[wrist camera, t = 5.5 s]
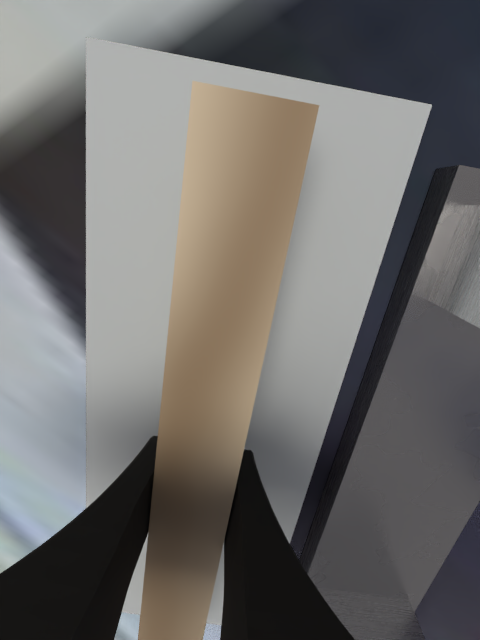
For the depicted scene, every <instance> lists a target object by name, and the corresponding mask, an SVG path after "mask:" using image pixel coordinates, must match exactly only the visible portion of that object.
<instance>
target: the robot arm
mask: <svg viewBox="0 0 480 640" xmlns="http://www.w3.org/2000/svg"><path fill="white" fill-rule="evenodd" d="M157 439H158V436H152V437H151V438H150V439H149V440H148V442H147V443H146V444H145V446H144V447H143V448H142V450H141V451H140V452H139V454H138V455H137V456H136V457H135V458H134V460H133V461H132V462H131V463H130V464H129V465H128V466H127V468H126V469H125V470H124V471H123V472H122V473H121V474H120V475H119V477H118V478H117V479H116V480H115V481H114V482H113V483H112V484H111V485H110V486H109V487H108V488H107V489H106V490H105V491H104V492H103V493H102V494H101V495H100V496H99V497H98V498H97V499H96V500H95V501H94V502H93V503H91V504H90V505H89V506H88V507H87V508H86V509H85V510H84V511H83V512H82V513H80V514H79V515H78V516H77V517H76V518H75V519H73V520H72V521H71V522H70V523H69V524H67V525H66V526H65V527H64V528H62V529H61V530H60V531H59V532H57V533H56V534H55V535H54V536H52V537H51V538H50V539H49V540H47V541H46V542H45V543H43V544H42V545H41V546H39V547H38V548H36V549H35V550H34V551H32V552H31V553H29V554H28V555H27V556H25V557H24V558H22V559H21V560H19V561H18V562H17V563H15V564H14V565H12V566H11V567H9V568H8V569H7V570H5V571H3V572H2V573H0V640H114V637H115V634H116V630H117V627H118V623H119V619H120V616H121V612H122V609H123V605H124V602H125V598H126V595H127V591H128V588H129V585H130V582H131V579H132V576H133V573H134V570H135V567H136V564H137V562H138V559H139V556H140V554H141V551H142V548H143V545H144V543H145V540H146V537H147V535H148V531H149V521H150V511H151V500H152V490H153V480H154V470H155V459H156V449H157ZM220 640H355V639H354V638H353V637H352V635H351V634H350V633H349V632H348V630H347V629H346V628H345V626H344V625H343V624H342V623H341V621H340V620H339V619H338V617H337V616H336V615H335V613H334V612H333V610H332V609H331V608H330V606H329V605H328V604H327V602H326V601H325V600H324V598H323V597H322V595H321V593H320V592H319V590H318V589H317V587H316V586H315V584H314V583H313V581H312V580H311V578H310V577H309V575H308V574H307V572H306V571H305V569H304V568H303V566H302V564H301V563H300V561H299V559H298V558H297V556H296V554H295V553H294V551H293V549H292V547H291V545H290V544H289V542H288V540H287V538H286V536H285V534H284V532H283V530H282V528H281V526H280V524H279V522H278V520H277V518H276V516H275V513H274V511H273V509H272V507H271V504H270V502H269V499H268V497H267V494H266V492H265V489H264V487H263V484H262V481H261V479H260V476H259V473H258V469H257V466H256V463H255V459H254V455H253V452H252V451H251V450H246V449H244V452H243V457H242V461H241V466H240V470H239V475H238V479H237V484H236V489H235V493H234V498H233V502H232V507H231V511H230V516H229V521H228V525H227V530H226V534H225V539H224V598H223V612H222V625H221V638H220Z"/></svg>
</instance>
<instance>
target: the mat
mask: <svg viewBox="0 0 480 640" xmlns="http://www.w3.org/2000/svg"><path fill="white" fill-rule="evenodd" d="M192 81H197V82H202V83H207V84H212V85H218V86H223V87H228V88H233V89H238V90H243V91H248V92H254V93H259V94H264V95H269V96H274V97H279V98H285V99H290V100H295V101H300V102H305V103H310V104H315V105H319V109H318V114H317V118H316V123H315V128H314V132H313V137H312V141H311V146H310V150H309V155H308V159H307V164H306V169H305V173H304V178H303V182H302V187H301V191H300V196H299V201H298V205H297V210H296V214H295V219H294V223H293V228H292V233H291V237H290V242H289V246H288V251H287V255H286V260H285V265H284V269H283V274H282V278H281V283H280V287H279V292H278V297H277V301H276V306H275V310H274V315H273V319H272V324H271V329H270V333H269V338H268V342H267V347H266V351H265V356H264V361H263V365H262V370H261V374H260V379H259V383H258V388H257V393H256V397H255V402H254V406H253V411H252V415H251V420H250V425H249V429H248V434H247V438H246V443H245V447H244V449H246V450H251V451H252V452H253V455H254V459H255V463H256V466H257V469H258V473H259V476H260V479H261V481H262V484H263V487H264V489H265V492H266V494H267V497H268V499H269V502H270V504H271V507H272V509H273V511H274V513H275V516H276V518H277V520H278V522H279V524H280V526H281V528H282V530H283V532H284V534H285V536H286V538H287V540H288V542H289V544H290V541H291V538H292V535H293V532H294V529H295V526H296V523H297V520H298V517H299V514H300V511H301V508H302V504H303V501H304V498H305V495H306V492H307V489H308V486H309V483H310V480H311V477H312V474H313V471H314V467H315V464H316V461H317V458H318V455H319V452H320V449H321V446H322V443H323V440H324V437H325V434H326V431H327V427H328V424H329V421H330V418H331V415H332V412H333V409H334V406H335V403H336V400H337V397H338V394H339V390H340V387H341V384H342V381H343V378H344V375H345V372H346V369H347V366H348V363H349V360H350V357H351V353H352V350H353V347H354V344H355V341H356V338H357V335H358V332H359V329H360V326H361V323H362V320H363V316H364V313H365V310H366V307H367V304H368V301H369V298H370V295H371V292H372V289H373V286H374V283H375V279H376V276H377V273H378V270H379V267H380V264H381V261H382V258H383V255H384V252H385V249H386V246H387V242H388V239H389V236H390V233H391V230H392V227H393V224H394V221H395V218H396V215H397V212H398V209H399V205H400V202H401V199H402V196H403V193H404V190H405V187H406V184H407V181H408V178H409V175H410V172H411V168H412V165H413V162H414V159H415V156H416V153H417V150H418V147H419V144H420V141H421V138H422V135H423V131H424V128H425V125H426V122H427V119H428V116H429V113H430V110H431V107H432V105H430V104H425V103H420V102H415V101H410V100H405V99H400V98H395V97H390V96H385V95H379V94H374V93H369V92H364V91H359V90H354V89H349V88H344V87H339V86H334V85H329V84H324V83H318V82H313V81H308V80H303V79H298V78H293V77H288V76H283V75H278V74H273V73H268V72H263V71H257V70H252V69H247V68H242V67H237V66H232V65H227V64H222V63H217V62H212V61H207V60H202V59H196V58H191V57H186V56H181V55H176V54H171V53H166V52H161V51H156V50H151V49H146V48H141V47H136V46H130V45H125V44H120V43H115V42H110V41H105V40H100V39H95V38H90V37H86V508H87V507H88V506H89V505H90V504H91V503H93V502H94V501H95V500H96V499H97V498H98V497H99V496H100V495H101V494H102V493H103V492H104V491H105V490H106V489H107V488H108V487H109V486H110V485H111V484H112V483H113V482H114V481H115V480H116V479H117V478H118V477H119V475H120V474H121V473H122V472H123V471H124V470H125V469H126V468H127V466H128V465H129V464H130V463H131V462H132V461H133V460H134V458H135V457H136V456H137V455H138V454H139V452H140V451H141V450H142V448H143V447H144V446H145V444H146V443H147V442H148V440H149V439H150V438H151V437H152V436H158V429H159V418H160V408H161V398H162V387H163V377H164V367H165V357H166V346H167V336H168V326H169V316H170V305H171V295H172V285H173V275H174V264H175V254H176V244H177V234H178V223H179V213H180V203H181V193H182V182H183V172H184V162H185V151H186V141H187V131H188V121H189V110H190V100H191V90H192ZM147 541H148V535H147V537H146V540H145V543H144V545H143V548H142V551H141V554H140V556H139V559H138V562H137V564H136V567H135V570H134V573H133V576H132V579H131V582H130V585H129V588H128V591H127V595H126V598H125V602H124V605H123V609H122V612H123V613H130V614H138V615H140V613H141V603H142V593H143V582H144V572H145V562H146V552H147ZM223 598H224V543H223V548H222V553H221V557H220V562H219V566H218V571H217V575H216V580H215V585H214V589H213V594H212V598H211V603H210V607H209V612H208V617H207V621H206V623H208V624H216V625H222V612H223Z"/></svg>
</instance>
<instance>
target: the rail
mask: <svg viewBox="0 0 480 640" xmlns="http://www.w3.org/2000/svg"><path fill="white" fill-rule="evenodd" d="M318 109H319V105H315V104H310V103H305V102H300V101H295V100H290V99H285V98H279V97H274V96H269V95H264V94H259V93H254V92H248V91H243V90H238V89H233V88H228V87H223V86H218V85H212V84H207V83H202V82H197V81H192V90H191V100H190V110H189V121H188V131H187V141H186V151H185V162H184V172H183V182H182V193H181V203H180V213H179V223H178V234H177V244H176V254H175V264H174V275H173V285H172V295H171V305H170V316H169V326H168V336H167V346H166V357H165V367H164V377H163V387H162V398H161V408H160V418H159V429H158V439H157V449H156V459H155V470H154V480H153V490H152V500H151V511H150V521H149V531H148V541H147V552H146V562H145V572H144V582H143V593H142V603H141V613H140V623H139V634H138V640H202V639H203V635H204V630H205V626H206V621H207V617H208V612H209V607H210V603H211V598H212V594H213V589H214V585H215V580H216V575H217V571H218V566H219V562H220V557H221V553H222V548H223V543H224V539H225V534H226V530H227V525H228V521H229V516H230V511H231V507H232V502H233V498H234V493H235V489H236V484H237V479H238V475H239V470H240V466H241V461H242V457H243V452H244V447H245V443H246V438H247V434H248V429H249V425H250V420H251V415H252V411H253V406H254V402H255V397H256V393H257V388H258V383H259V379H260V374H261V370H262V365H263V361H264V356H265V351H266V347H267V342H268V338H269V333H270V329H271V324H272V319H273V315H274V310H275V306H276V301H277V297H278V292H279V287H280V283H281V278H282V274H283V269H284V265H285V260H286V255H287V251H288V246H289V242H290V237H291V233H292V228H293V223H294V219H295V214H296V210H297V205H298V201H299V196H300V191H301V187H302V182H303V178H304V173H305V169H306V164H307V159H308V155H309V150H310V146H311V141H312V137H313V132H314V128H315V123H316V118H317V114H318Z"/></svg>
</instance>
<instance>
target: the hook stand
mask: <svg viewBox="0 0 480 640" xmlns="http://www.w3.org/2000/svg"><path fill="white" fill-rule="evenodd" d="M479 501H480V169H478V168H472V167H467V166H462V165H456V166H451V167H445V168H439V169H436V171H435V174H434V177H433V179H432V182H431V185H430V188H429V191H428V194H427V197H426V199H425V202H424V205H423V208H422V211H421V214H420V217H419V219H418V222H417V225H416V228H415V231H414V234H413V237H412V240H411V242H410V245H409V248H408V251H407V254H406V257H405V260H404V262H403V265H402V268H401V271H400V274H399V277H398V280H397V283H396V285H395V288H394V291H393V294H392V297H391V300H390V303H389V305H388V308H387V311H386V314H385V317H384V320H383V323H382V325H381V328H380V331H379V334H378V337H377V340H376V343H375V346H374V348H373V351H372V354H371V357H370V360H369V363H368V366H367V368H366V371H365V374H364V377H363V380H362V383H361V386H360V388H359V391H358V394H357V397H356V400H355V403H354V406H353V409H352V411H351V414H350V417H349V420H348V423H347V426H346V429H345V431H344V434H343V437H342V440H341V443H340V446H339V449H338V451H337V454H336V457H335V460H334V463H333V466H332V469H331V472H330V474H329V477H328V480H327V483H326V486H325V489H324V492H323V494H322V497H321V500H320V503H319V506H318V509H317V512H316V514H315V517H314V520H313V523H312V526H311V529H310V532H309V535H308V537H307V540H306V543H305V546H304V549H303V552H302V555H301V557H300V560H299V561H300V563H301V564H302V566H303V568H304V569H305V571H306V572H307V574H308V575H309V577H310V578H311V580H312V581H313V583H314V584H315V586H316V587H317V589H318V590H319V592H320V593H321V595H322V597H323V598H324V600H325V601H326V602H327V604H328V605H329V606H330V608H331V609H332V610H333V612H334V613H335V615H336V616H337V617H338V619H339V620H340V621H341V623H342V624H343V625H344V626H345V628H346V629H347V630H348V632H349V633H350V634H351V635H352V637H353V638H354V639H355V640H425V638H424V635H423V633H422V630H421V628H420V625H419V623H418V620H417V618H416V615H415V613H414V612H415V610H416V608H417V607H418V605H419V603H420V602H421V600H422V598H423V597H424V595H425V593H426V591H427V590H428V588H429V586H430V585H431V583H432V581H433V580H434V578H435V576H436V574H437V573H438V571H439V569H440V568H441V566H442V564H443V562H444V561H445V559H446V557H447V556H448V554H449V552H450V551H451V549H452V547H453V545H454V544H455V542H456V540H457V539H458V537H459V535H460V534H461V532H462V530H463V528H464V527H465V525H466V523H467V522H468V520H469V518H470V516H471V515H472V513H473V511H474V510H475V508H476V506H477V505H478V503H479Z"/></svg>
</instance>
